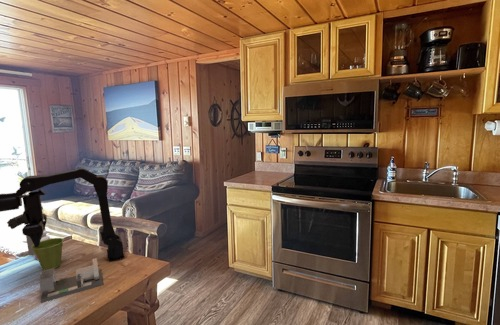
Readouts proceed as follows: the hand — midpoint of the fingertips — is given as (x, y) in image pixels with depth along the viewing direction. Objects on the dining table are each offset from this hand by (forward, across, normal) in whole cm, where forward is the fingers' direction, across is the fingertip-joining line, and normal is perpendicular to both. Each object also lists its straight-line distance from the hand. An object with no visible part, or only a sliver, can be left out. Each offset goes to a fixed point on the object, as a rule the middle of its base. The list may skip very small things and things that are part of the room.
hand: (38, 243), depth 117 cm
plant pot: (+15, -8, +2) cm, 17 cm away
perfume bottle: (+15, -32, -5) cm, 36 cm away
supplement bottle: (+15, -22, -2) cm, 27 cm away
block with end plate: (+13, +17, +16) cm, 27 cm away
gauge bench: (+15, +17, +11) cm, 25 cm away
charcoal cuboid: (+13, +22, +13) cm, 28 cm away
